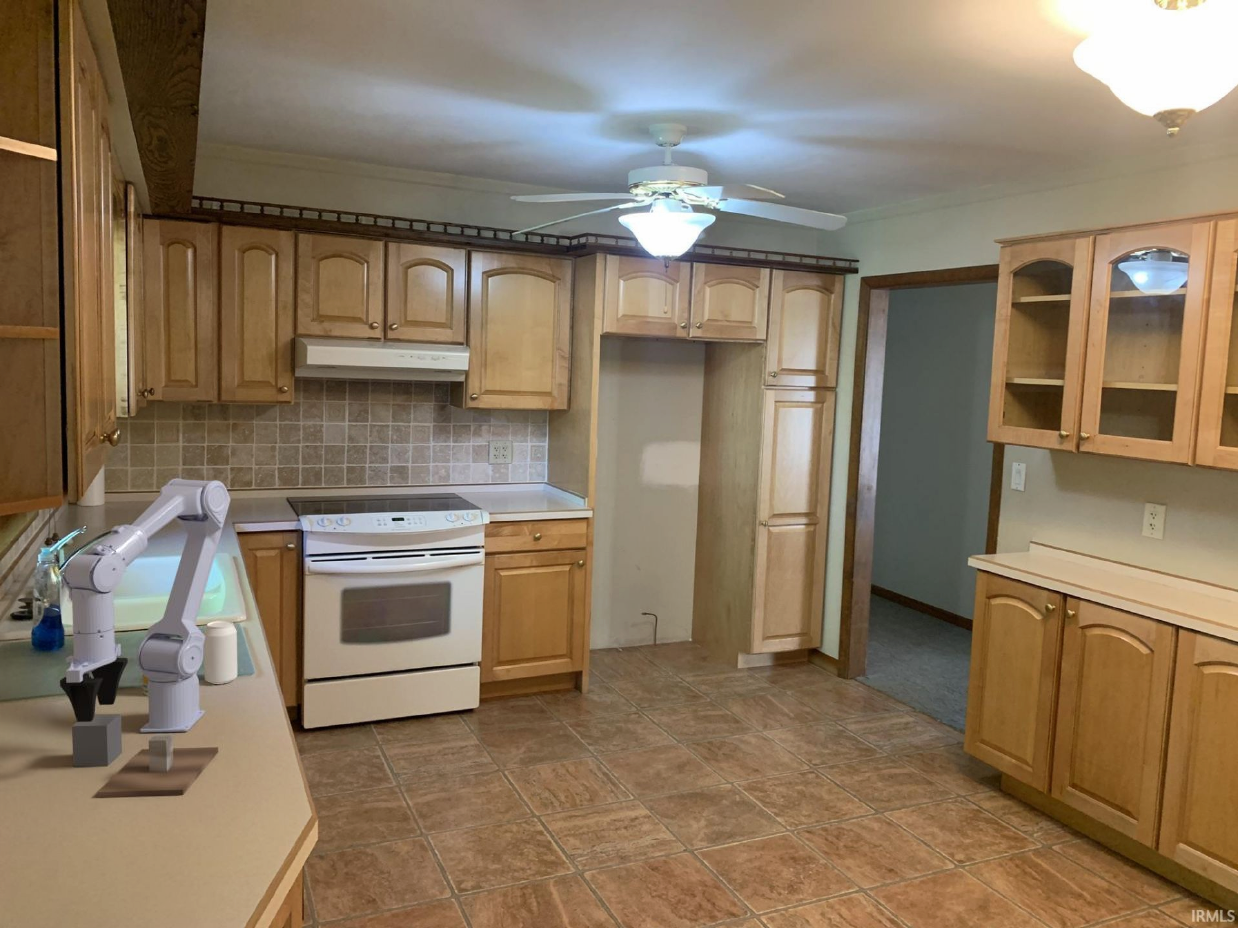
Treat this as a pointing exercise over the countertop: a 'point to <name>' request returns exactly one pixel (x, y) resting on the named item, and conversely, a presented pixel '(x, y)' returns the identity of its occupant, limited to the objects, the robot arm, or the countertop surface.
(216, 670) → the beverage can
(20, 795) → the countertop surface
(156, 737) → the flat brown plate
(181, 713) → the robot arm
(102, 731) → the gray rectangular prism
